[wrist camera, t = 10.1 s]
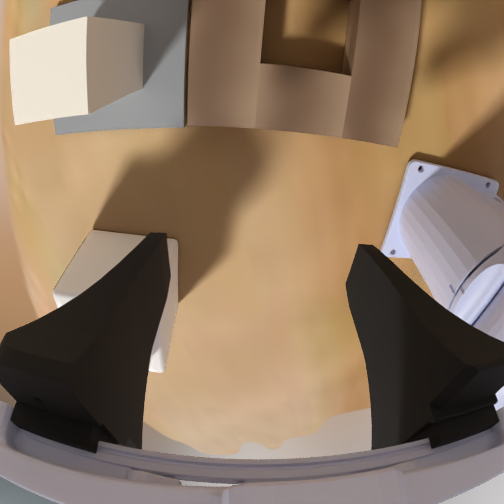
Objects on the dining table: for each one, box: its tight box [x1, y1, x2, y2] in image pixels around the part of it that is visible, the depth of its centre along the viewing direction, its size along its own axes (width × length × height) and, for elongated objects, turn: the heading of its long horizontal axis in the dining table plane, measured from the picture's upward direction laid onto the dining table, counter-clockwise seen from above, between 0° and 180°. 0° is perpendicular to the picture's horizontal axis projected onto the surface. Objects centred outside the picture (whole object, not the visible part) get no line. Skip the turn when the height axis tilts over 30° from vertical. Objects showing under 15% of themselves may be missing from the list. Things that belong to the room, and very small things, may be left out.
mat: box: [50, 0, 190, 135], centre depth 14 cm, size 9×9×1 cm
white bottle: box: [53, 230, 178, 377], centre depth 19 cm, size 7×7×12 cm
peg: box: [10, 16, 145, 125], centre depth 11 cm, size 4×4×7 cm
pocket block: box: [187, 0, 422, 148], centre depth 13 cm, size 12×12×2 cm
